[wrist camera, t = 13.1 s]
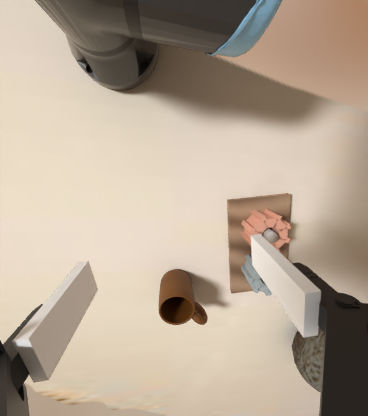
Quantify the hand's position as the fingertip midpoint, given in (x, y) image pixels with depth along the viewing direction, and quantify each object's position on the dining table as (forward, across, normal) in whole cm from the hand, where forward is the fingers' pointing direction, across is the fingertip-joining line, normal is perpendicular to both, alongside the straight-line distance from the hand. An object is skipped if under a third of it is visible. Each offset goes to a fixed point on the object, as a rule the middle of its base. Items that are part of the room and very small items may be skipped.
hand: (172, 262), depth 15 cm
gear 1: (+26, +18, -11) cm, 34 cm away
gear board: (+28, +18, -16) cm, 37 cm away
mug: (+28, -1, -24) cm, 36 cm away
